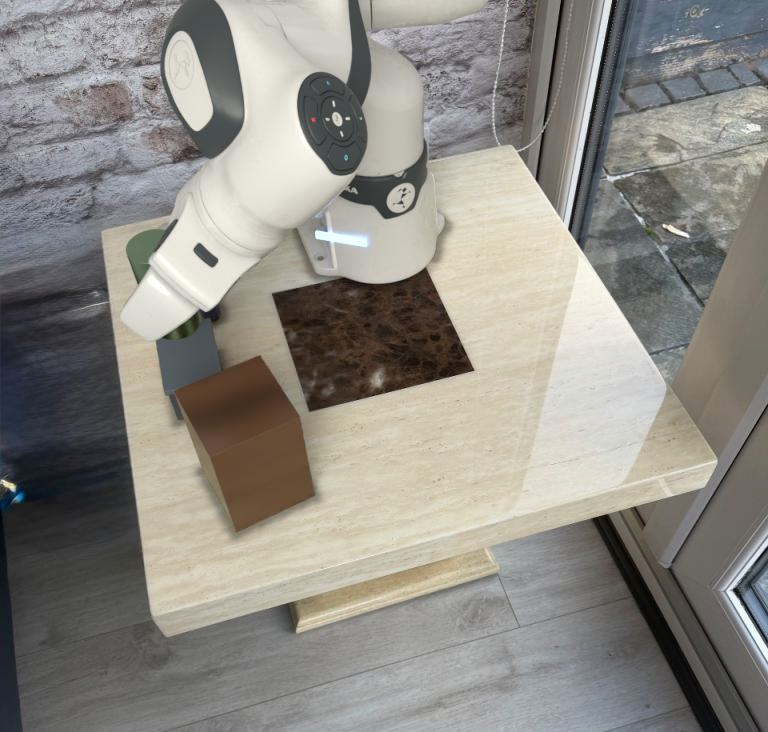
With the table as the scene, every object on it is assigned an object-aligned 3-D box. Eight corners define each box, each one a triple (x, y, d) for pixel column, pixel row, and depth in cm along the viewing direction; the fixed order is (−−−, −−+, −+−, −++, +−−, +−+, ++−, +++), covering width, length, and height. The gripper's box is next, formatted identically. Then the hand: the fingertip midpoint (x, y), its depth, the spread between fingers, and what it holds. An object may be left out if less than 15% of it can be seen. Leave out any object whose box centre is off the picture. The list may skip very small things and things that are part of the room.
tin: (146, 317, 89) (118, 239, 80) (190, 300, 90) (167, 222, 82) (163, 346, 86) (135, 270, 78) (208, 329, 87) (186, 251, 79)
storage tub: (165, 361, 99) (153, 329, 94) (219, 350, 99) (210, 317, 95) (175, 423, 94) (163, 391, 89) (232, 410, 94) (223, 378, 90)
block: (202, 470, 90) (173, 390, 79) (278, 437, 92) (260, 354, 81) (236, 532, 86) (209, 457, 75) (315, 496, 88) (300, 417, 77)
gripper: (250, 123, 77) (180, 196, 88) (144, 267, 67) (79, 330, 77) (300, 174, 80) (227, 239, 90) (206, 320, 70) (136, 374, 80)
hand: (158, 282), depth 84 cm, fingers closed on tin, 5 cm apart
